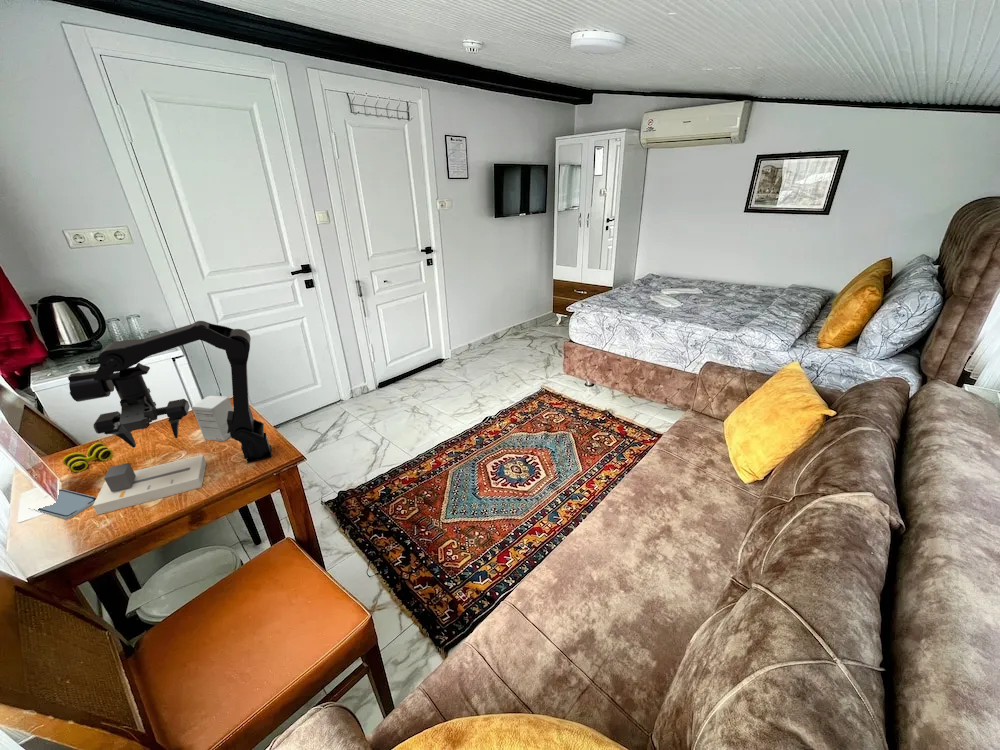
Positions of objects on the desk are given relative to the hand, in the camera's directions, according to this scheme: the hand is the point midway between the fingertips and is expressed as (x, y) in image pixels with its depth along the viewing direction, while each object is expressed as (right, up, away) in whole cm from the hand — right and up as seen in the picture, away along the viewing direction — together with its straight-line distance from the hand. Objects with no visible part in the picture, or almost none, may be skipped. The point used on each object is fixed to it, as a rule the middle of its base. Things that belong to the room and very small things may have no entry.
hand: (156, 441), depth 110 cm
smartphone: (-20, -16, -4) cm, 26 cm away
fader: (-7, -11, -2) cm, 13 cm away
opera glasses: (-28, -8, +11) cm, 31 cm away
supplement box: (+1, -2, +24) cm, 24 cm away
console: (-1, -13, +2) cm, 13 cm away
